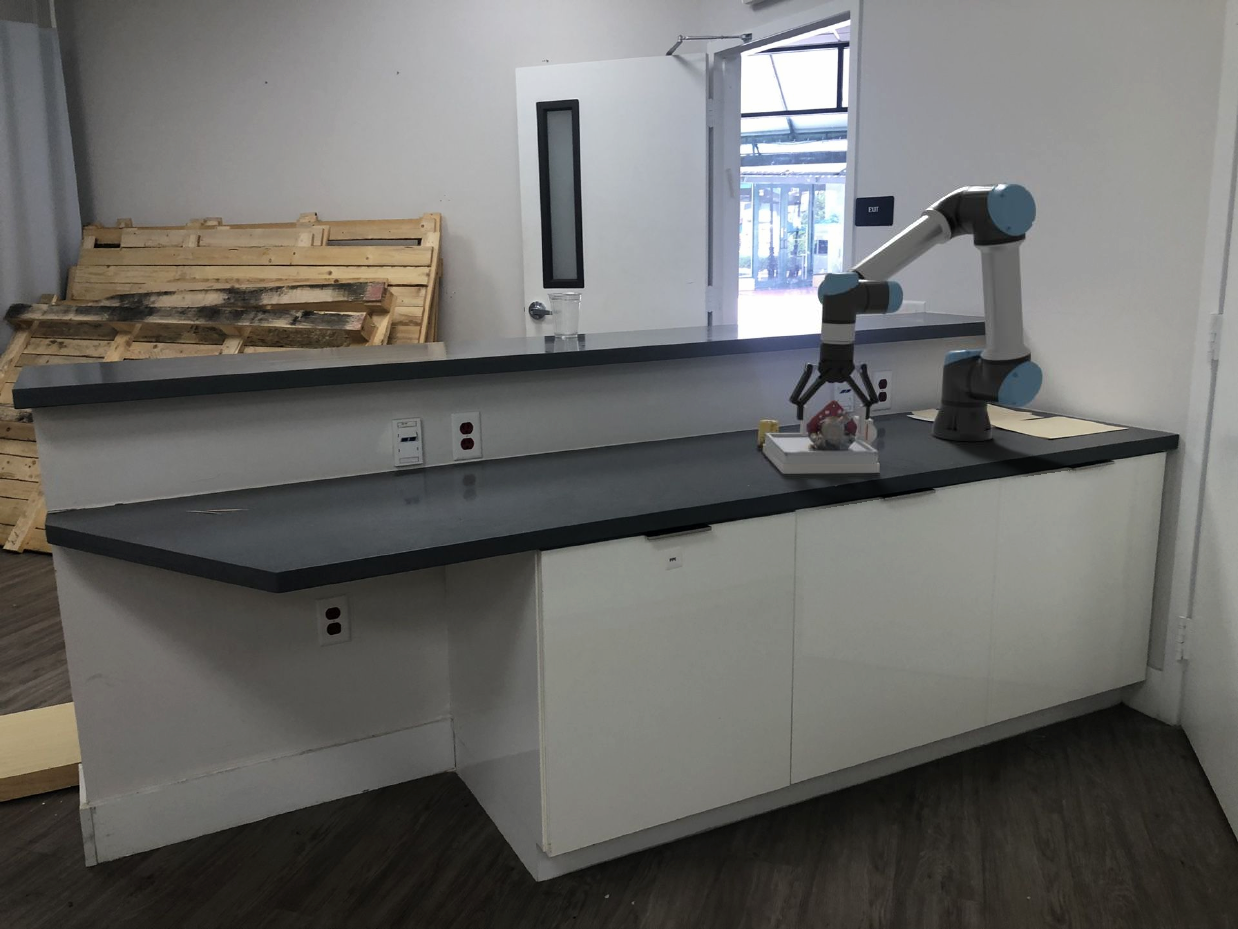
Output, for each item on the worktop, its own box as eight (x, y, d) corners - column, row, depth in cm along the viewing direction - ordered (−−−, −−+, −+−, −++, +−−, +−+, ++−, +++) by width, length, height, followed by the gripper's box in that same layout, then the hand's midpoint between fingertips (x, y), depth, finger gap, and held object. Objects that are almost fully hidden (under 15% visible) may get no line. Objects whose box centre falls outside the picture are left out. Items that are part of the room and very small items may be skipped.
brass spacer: (775, 442, 248) (776, 419, 247) (779, 447, 243) (780, 423, 242) (756, 443, 248) (757, 419, 247) (760, 447, 243) (761, 423, 242)
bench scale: (866, 451, 239) (868, 415, 237) (896, 472, 218) (899, 433, 216) (762, 451, 238) (764, 415, 236) (782, 473, 216) (784, 434, 214)
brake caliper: (853, 432, 229) (859, 397, 220) (855, 468, 223) (861, 434, 213) (805, 430, 231) (808, 396, 222) (805, 466, 224) (809, 432, 215)
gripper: (886, 339, 223) (879, 430, 228) (779, 340, 221) (775, 430, 226) (897, 343, 215) (890, 436, 220) (786, 343, 214) (782, 437, 219)
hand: (831, 434), depth 223 cm, fingers open, 13 cm apart
